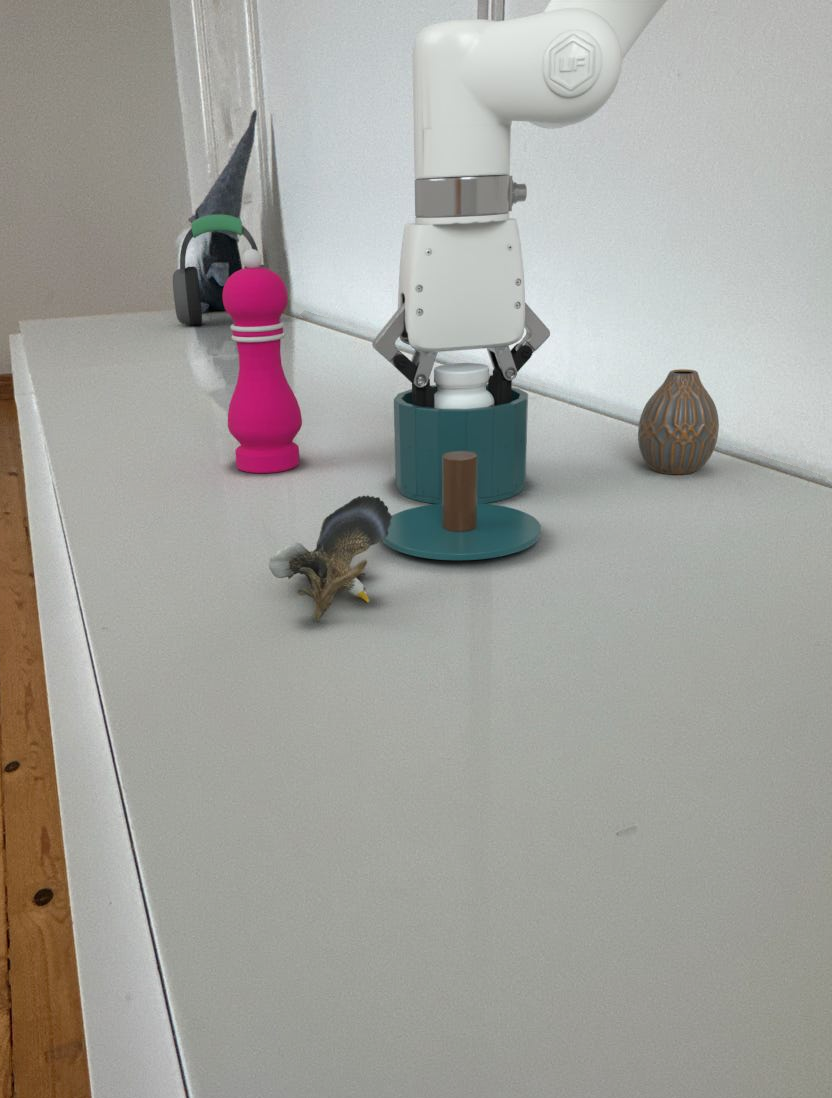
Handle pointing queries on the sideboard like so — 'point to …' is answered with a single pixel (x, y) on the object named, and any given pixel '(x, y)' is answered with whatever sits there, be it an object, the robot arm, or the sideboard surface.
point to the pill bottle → (462, 386)
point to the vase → (678, 425)
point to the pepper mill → (260, 371)
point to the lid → (461, 520)
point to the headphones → (188, 277)
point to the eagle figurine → (336, 552)
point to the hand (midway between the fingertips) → (461, 425)
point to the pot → (461, 446)
